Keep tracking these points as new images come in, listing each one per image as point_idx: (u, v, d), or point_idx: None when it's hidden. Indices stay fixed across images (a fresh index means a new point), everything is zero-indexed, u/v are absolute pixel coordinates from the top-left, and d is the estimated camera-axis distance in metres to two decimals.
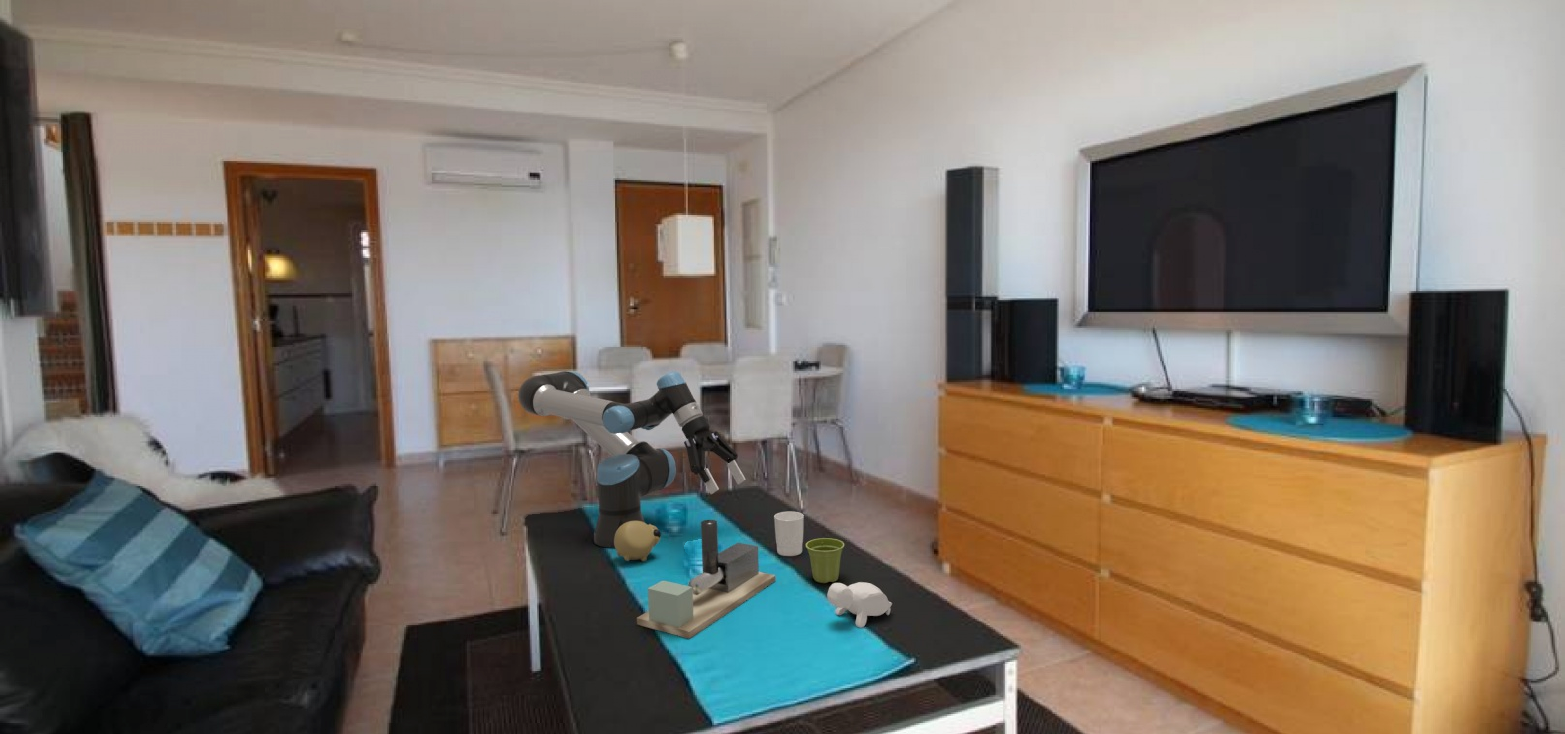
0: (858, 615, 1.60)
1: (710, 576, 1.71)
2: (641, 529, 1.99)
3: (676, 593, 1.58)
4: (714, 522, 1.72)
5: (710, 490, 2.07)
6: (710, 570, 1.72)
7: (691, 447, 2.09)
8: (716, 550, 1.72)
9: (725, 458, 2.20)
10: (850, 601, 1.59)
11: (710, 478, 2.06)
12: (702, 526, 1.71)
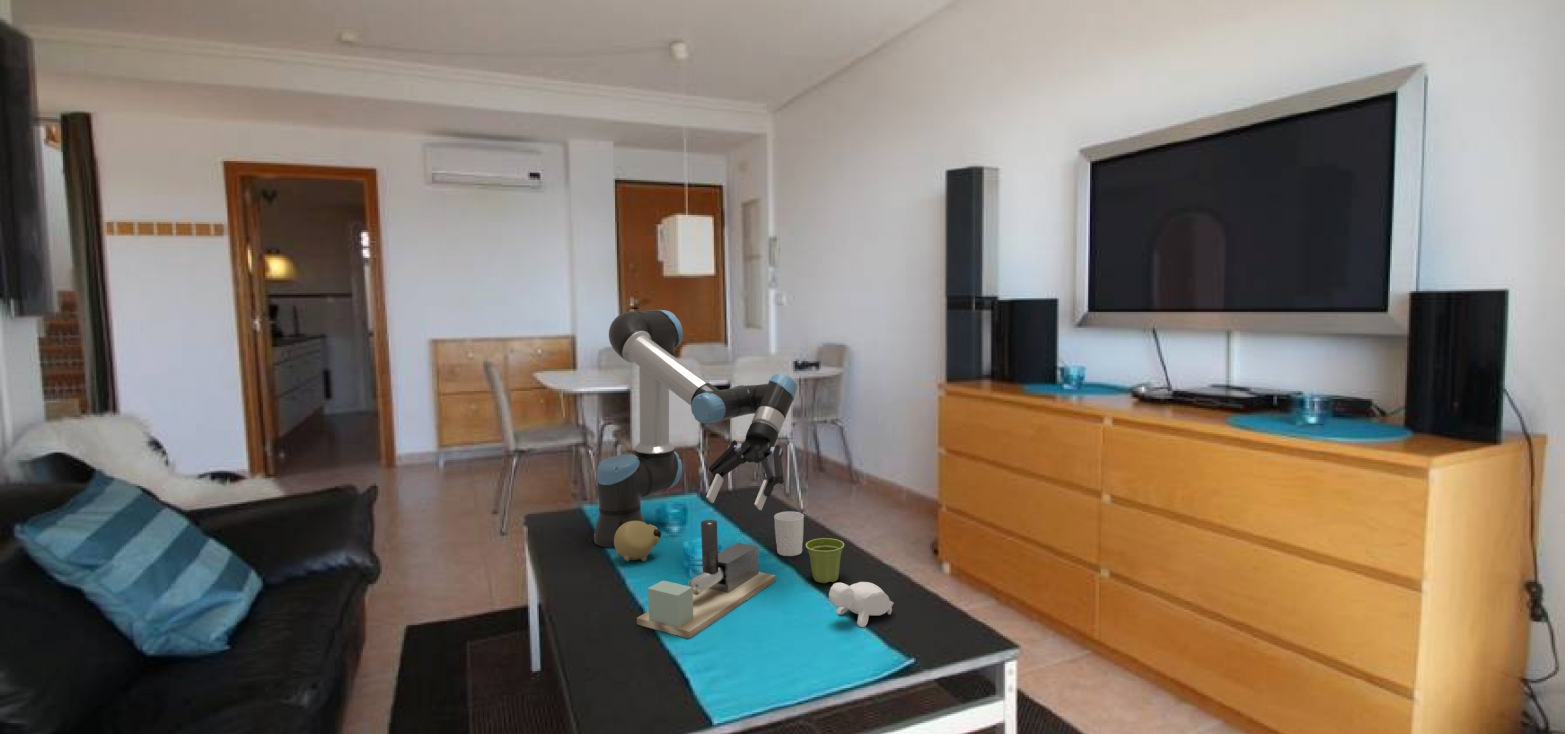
0: (860, 615, 1.61)
1: (710, 576, 1.71)
2: (641, 529, 1.99)
3: (676, 593, 1.58)
4: (714, 522, 1.72)
5: (759, 502, 1.76)
6: (710, 570, 1.72)
7: (780, 458, 1.83)
8: (716, 550, 1.72)
9: (724, 470, 1.86)
10: (852, 601, 1.60)
11: (766, 496, 1.78)
12: (702, 526, 1.71)
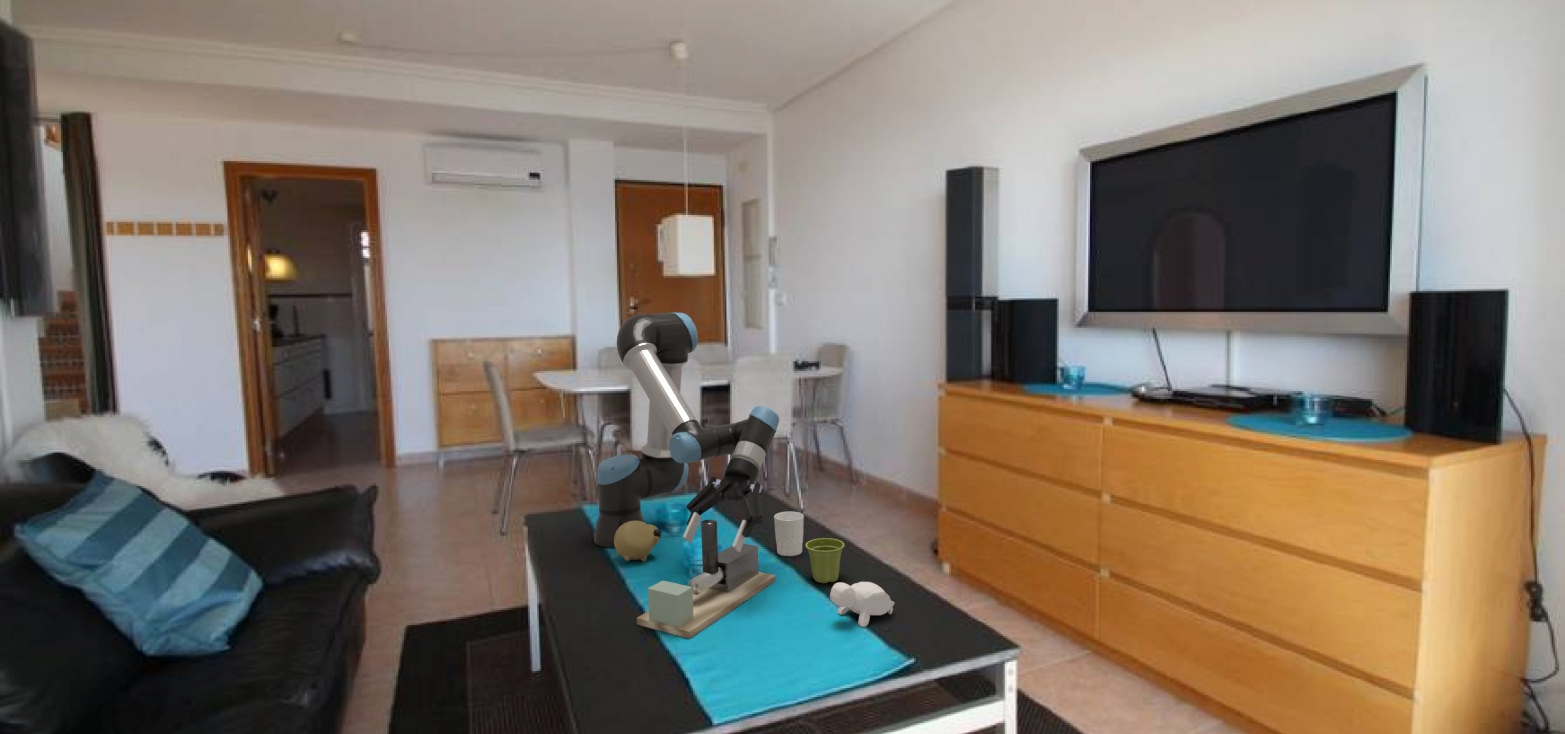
0: (861, 614, 1.61)
1: (710, 576, 1.71)
2: (641, 529, 1.99)
3: (676, 593, 1.58)
4: (714, 522, 1.72)
5: (737, 543, 1.68)
6: (710, 570, 1.72)
7: (760, 497, 1.76)
8: (716, 550, 1.72)
9: (702, 508, 1.79)
10: (853, 600, 1.60)
11: (745, 536, 1.71)
12: (702, 526, 1.71)
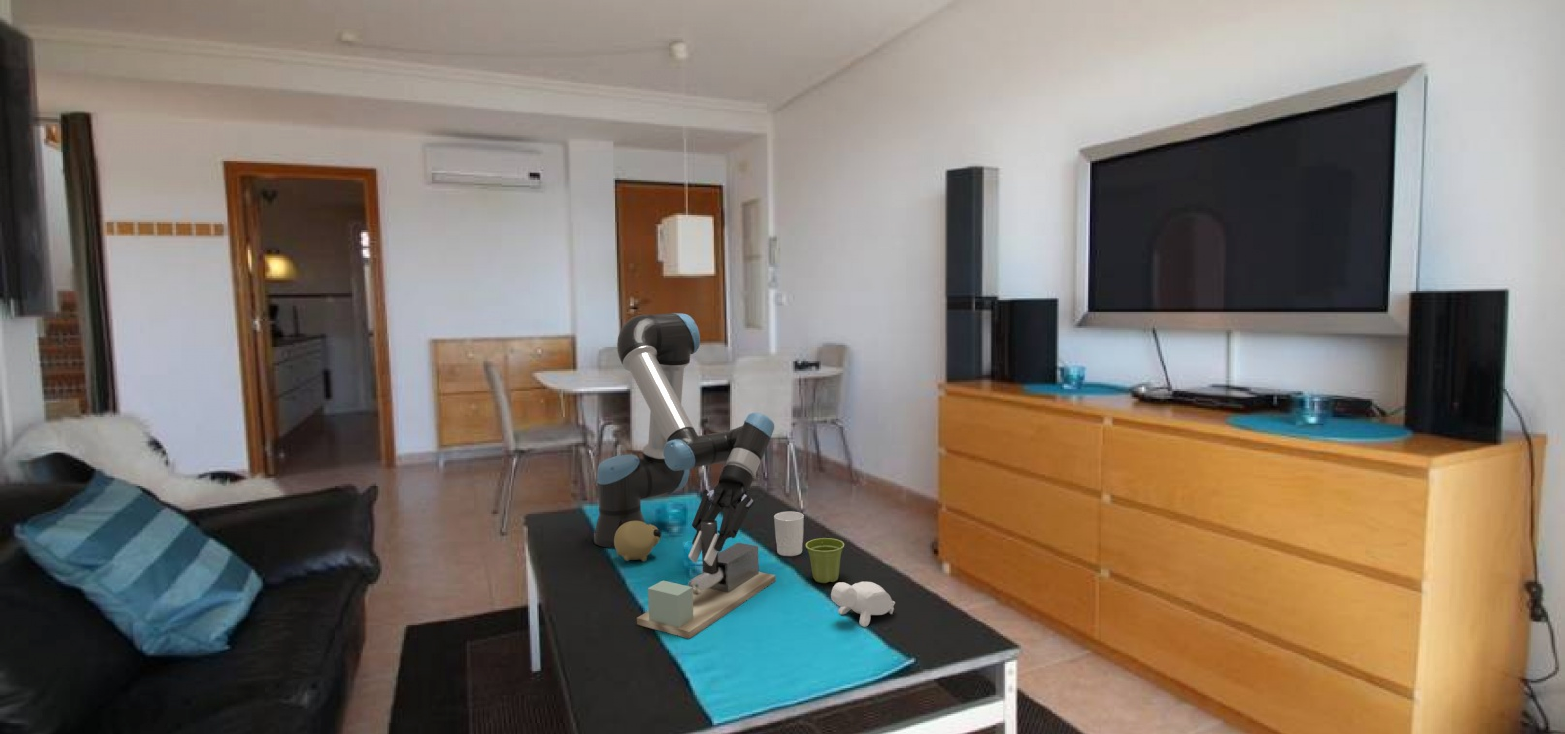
0: (862, 614, 1.61)
1: (710, 576, 1.71)
2: (641, 529, 1.99)
3: (676, 593, 1.58)
4: (714, 522, 1.72)
5: (709, 557, 1.68)
6: (710, 570, 1.72)
7: (746, 511, 1.75)
8: None
9: None
10: (854, 600, 1.60)
11: (717, 550, 1.71)
12: (702, 526, 1.71)
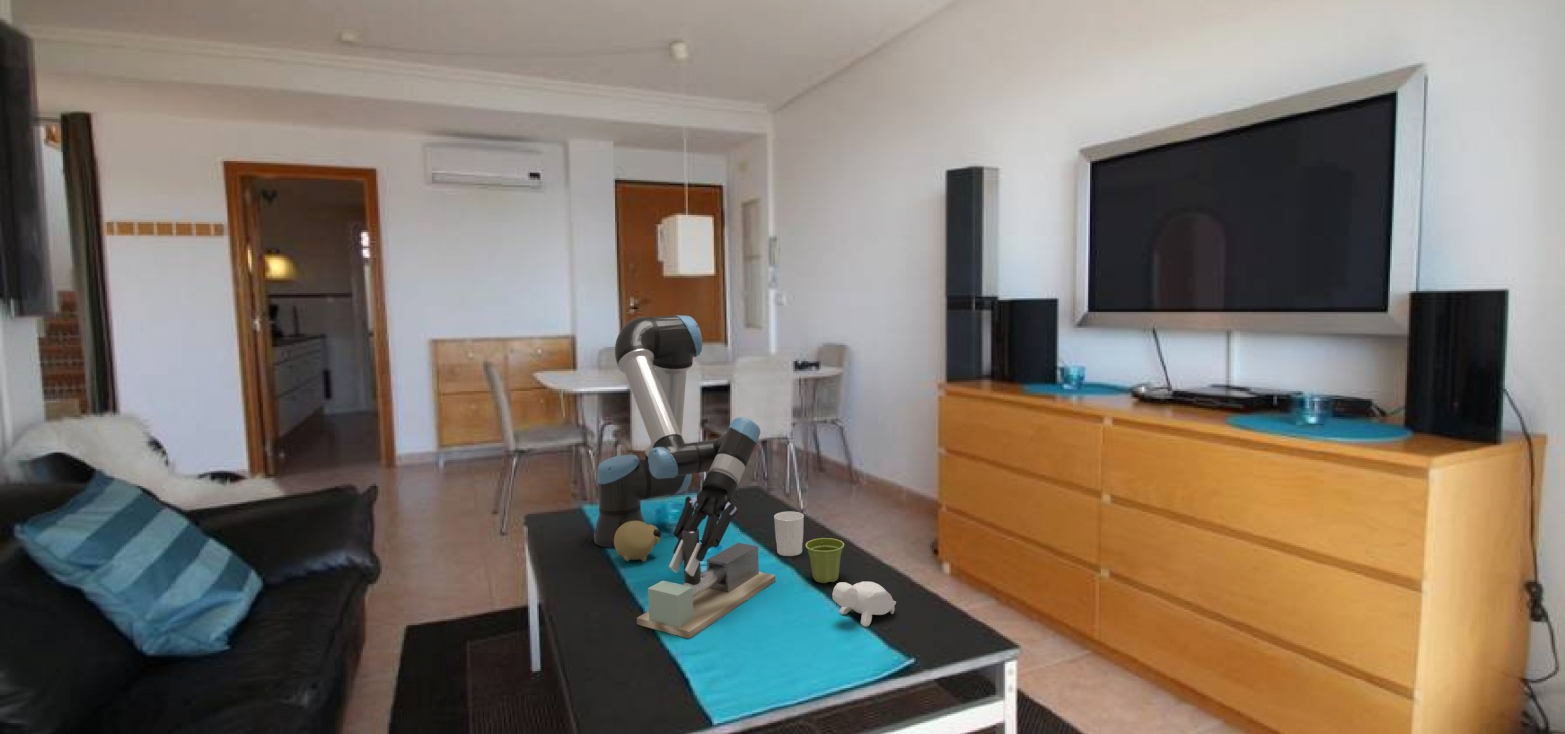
0: (863, 614, 1.61)
1: None
2: (641, 529, 1.99)
3: (676, 593, 1.58)
4: (696, 531, 1.66)
5: (690, 567, 1.63)
6: (692, 580, 1.66)
7: (729, 519, 1.69)
8: None
9: None
10: (855, 600, 1.60)
11: None
12: (683, 535, 1.65)
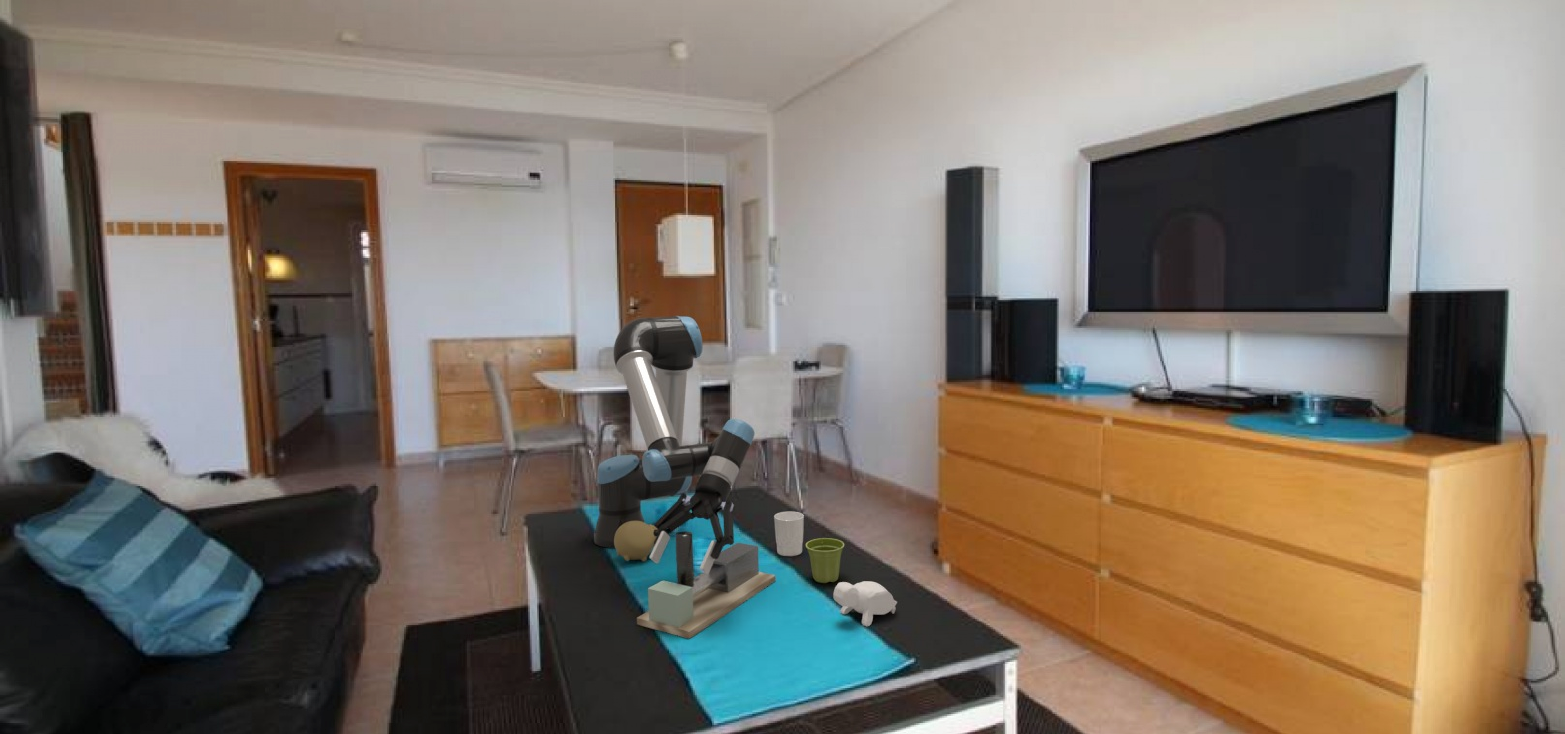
0: (864, 614, 1.61)
1: None
2: (641, 529, 1.99)
3: (676, 593, 1.58)
4: (689, 534, 1.64)
5: (705, 565, 1.59)
6: (685, 584, 1.64)
7: (731, 515, 1.67)
8: (691, 563, 1.64)
9: (670, 526, 1.70)
10: (856, 600, 1.60)
11: None
12: (676, 538, 1.63)
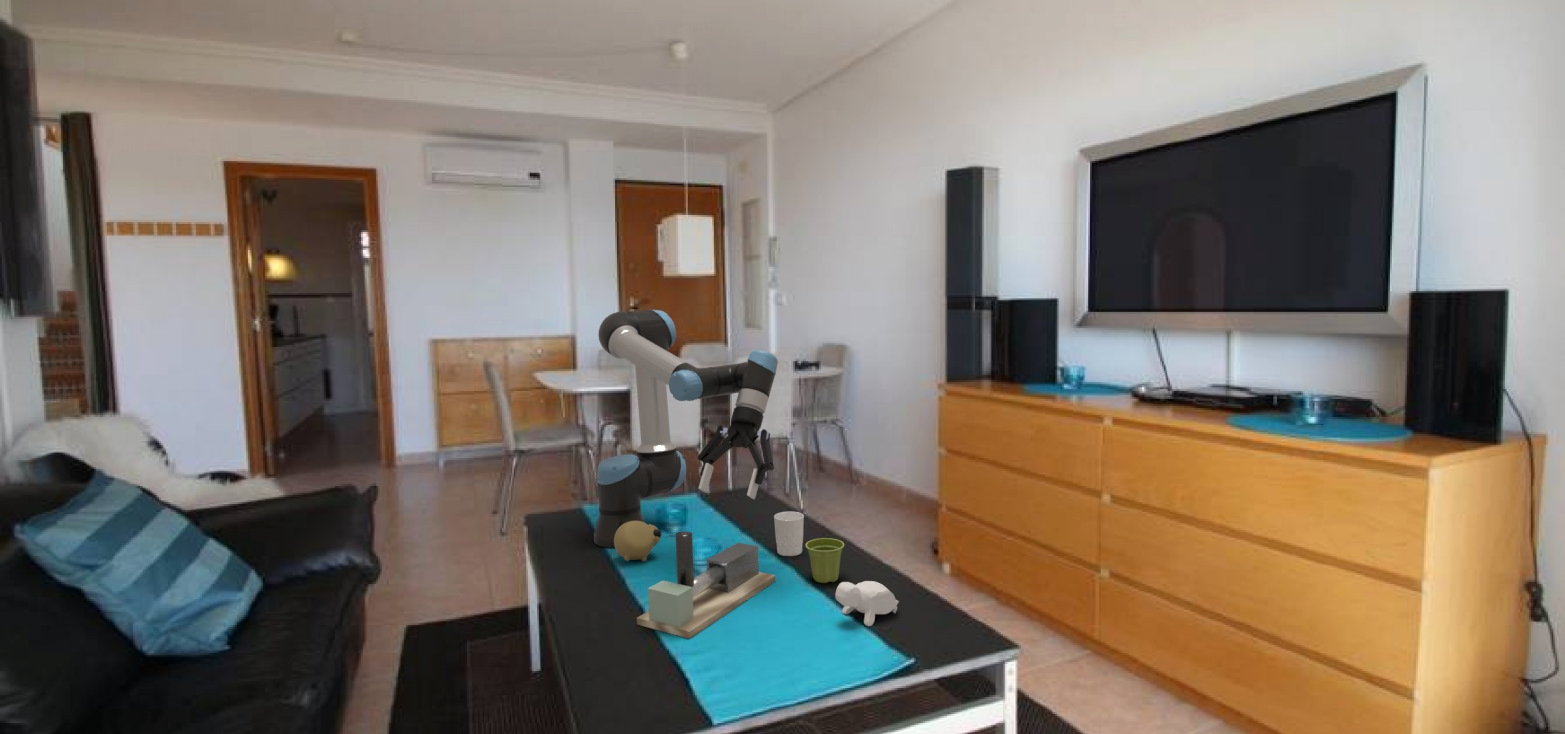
0: (866, 614, 1.61)
1: None
2: (641, 529, 1.99)
3: (676, 593, 1.58)
4: (689, 534, 1.64)
5: (751, 492, 1.76)
6: (685, 584, 1.64)
7: (768, 443, 1.82)
8: (691, 563, 1.64)
9: (713, 458, 1.85)
10: (858, 600, 1.60)
11: None
12: (676, 538, 1.63)
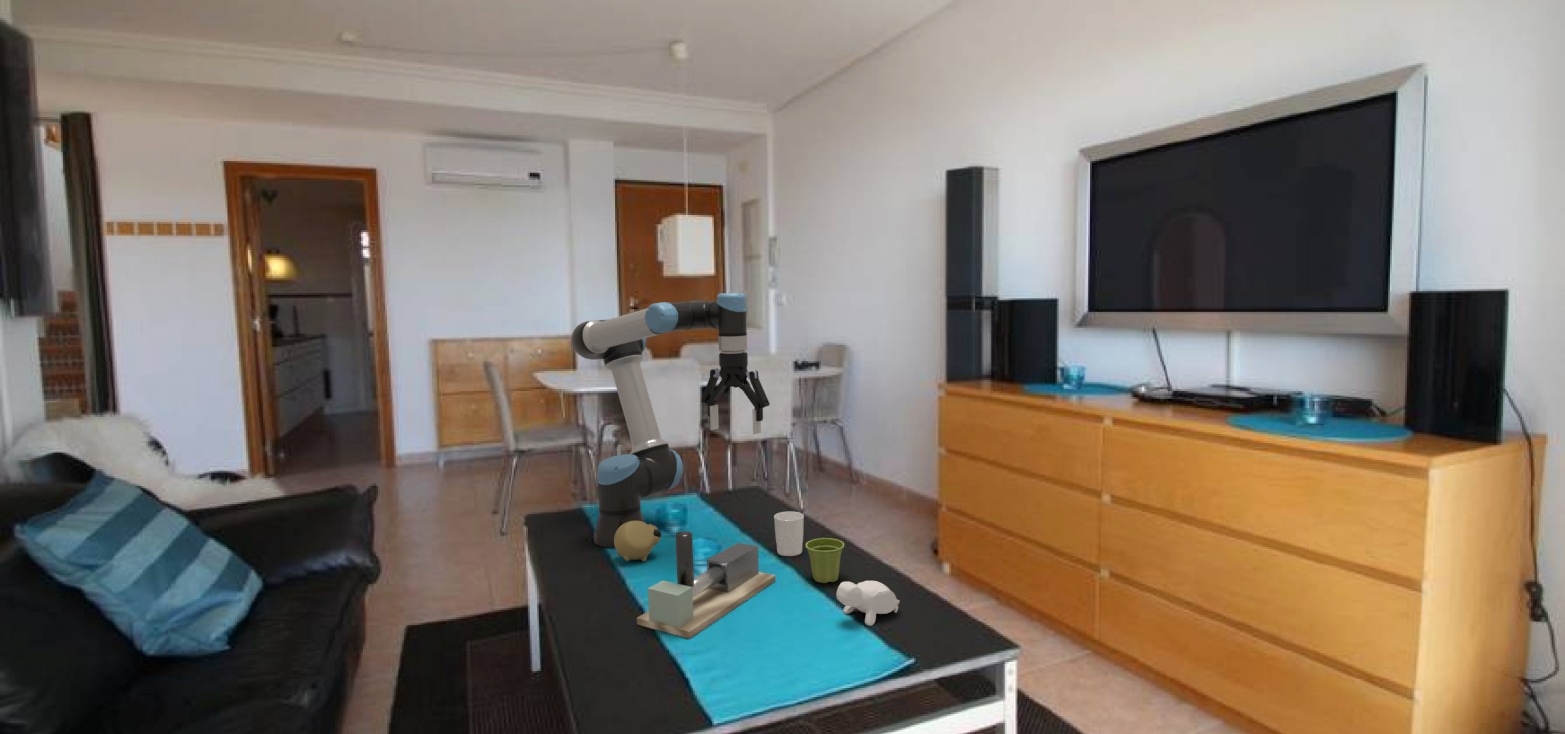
0: (867, 613, 1.61)
1: None
2: (641, 529, 1.99)
3: (676, 593, 1.58)
4: (689, 534, 1.64)
5: (756, 430, 1.99)
6: (685, 584, 1.64)
7: (758, 381, 1.99)
8: (691, 563, 1.64)
9: (714, 399, 2.05)
10: (859, 599, 1.60)
11: None
12: (676, 538, 1.63)
